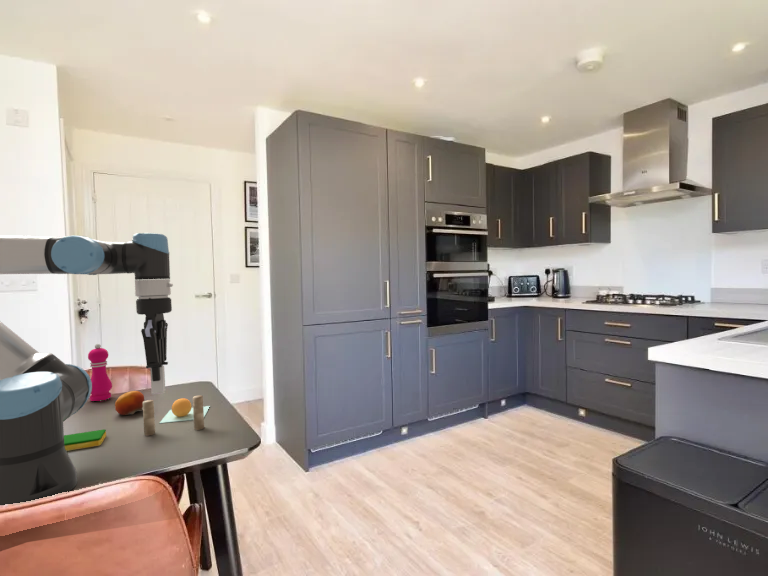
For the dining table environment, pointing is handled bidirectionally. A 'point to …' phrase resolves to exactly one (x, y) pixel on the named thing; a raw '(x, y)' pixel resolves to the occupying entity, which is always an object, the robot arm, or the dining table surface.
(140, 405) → the fruit
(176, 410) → the ball
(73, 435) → the dish sponge
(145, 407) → the left post
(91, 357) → the pepper mill
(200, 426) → the right post
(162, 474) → the dining table surface
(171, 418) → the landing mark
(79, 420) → the dining table surface
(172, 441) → the dining table surface
